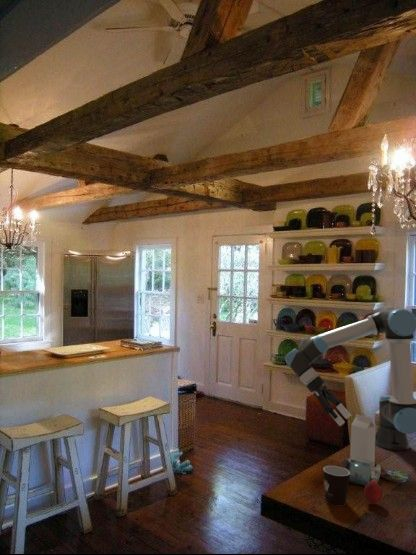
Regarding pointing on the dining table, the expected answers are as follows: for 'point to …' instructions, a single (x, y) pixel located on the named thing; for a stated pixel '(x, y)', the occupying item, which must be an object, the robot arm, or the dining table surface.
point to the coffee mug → (336, 484)
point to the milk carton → (362, 438)
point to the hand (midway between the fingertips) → (345, 420)
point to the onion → (373, 492)
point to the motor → (362, 471)
